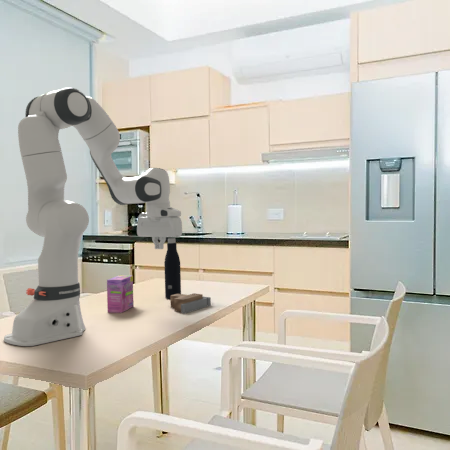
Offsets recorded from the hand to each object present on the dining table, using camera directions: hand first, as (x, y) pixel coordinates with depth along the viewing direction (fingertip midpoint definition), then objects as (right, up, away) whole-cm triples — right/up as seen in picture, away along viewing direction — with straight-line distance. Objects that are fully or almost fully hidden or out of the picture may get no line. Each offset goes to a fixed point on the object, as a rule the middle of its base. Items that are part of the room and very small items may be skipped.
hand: (159, 249), depth 168 cm
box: (-13, -22, -5) cm, 26 cm away
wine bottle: (+4, -21, +15) cm, 26 cm away
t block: (+10, -21, -5) cm, 24 cm away
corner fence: (+11, -21, -5) cm, 24 cm away
